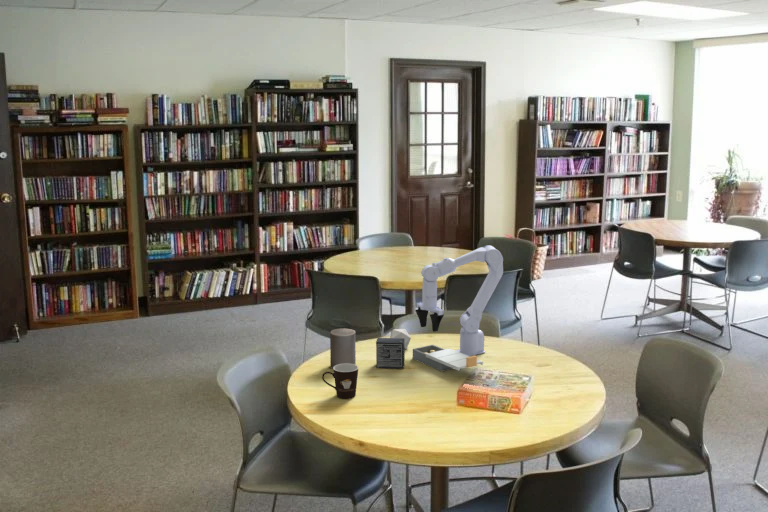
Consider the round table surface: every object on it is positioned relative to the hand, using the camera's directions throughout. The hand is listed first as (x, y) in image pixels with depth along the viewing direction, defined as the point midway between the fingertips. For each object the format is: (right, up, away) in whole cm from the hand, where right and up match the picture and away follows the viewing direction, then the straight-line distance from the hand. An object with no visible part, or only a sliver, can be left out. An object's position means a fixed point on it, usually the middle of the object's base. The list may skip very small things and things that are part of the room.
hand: (429, 328), depth 300 cm
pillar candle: (-34, -13, -13) cm, 38 cm away
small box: (-16, -13, -12) cm, 24 cm away
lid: (+8, -10, -17) cm, 22 cm away
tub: (+2, -12, -8) cm, 15 cm away
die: (-12, -9, +10) cm, 18 cm away
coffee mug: (-32, -19, -42) cm, 56 cm away
